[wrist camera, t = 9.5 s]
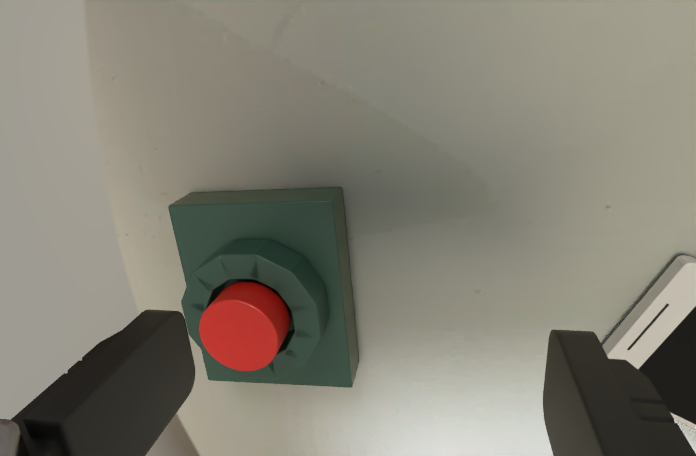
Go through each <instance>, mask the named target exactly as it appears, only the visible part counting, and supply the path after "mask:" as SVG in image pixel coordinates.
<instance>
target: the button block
mask: <svg viewBox="0 0 696 456" xmlns="http://www.w3.org/2000/svg"><path fill="white" fill-rule="evenodd" d="M169 212H170V216H171V220H172V225H173V229H174V233H175V238H176V242H177V246H178V251H179V255H180V259H181V264H182V268H183V272H184V276H185V281H186V285H187V287H186V290H185V293H184V296H183V298H182V301H181V302H182V307H183V312H184V316H185V320H186V324H187V328H188V332H189V335H190V336H191V337H192V339H193V340H194V341H195V342H196V343H197V345H198V346H199V347H200V348H201V350H202V354H203V358H204V363H205V367H206V371H207V376H208V379H209V380H214V381H234V382H254V383H273V384H293V385H313V386H332V387H352V386H353V382H354V379H355V375H356V371H357V367H358V364H359V355H358V345H357V335H356V324H355V314H354V304H353V294H352V283H351V273H350V263H349V253H348V242H347V232H346V222H345V212H344V201H343V191H342V188H341V187H332V188H305V189H279V190H252V191H225V192H199V193H190V194H188V195H186V196H184V197H183V198H181V199H179V200H178V201H176V202H174V203H173V204H171V205H169ZM245 281H248V282H255V283H259V284H262V285H264V286H266V287H268V288H270V289H271V290H273V291H274V292H275V293H276V294H277V295H278V296H279V297H280V298H281V299H282V300H283V302H284V303H285V305H286V307H287V310H288V313H289V317H290V326H289V331H288V333H287V335H286V337H285V339H284V341H283V343H282V345H281V346H280V348H279V350H278V352H277V354H276V356H275V357H274V359H273V360H272V361H271V362H270V363H269V364H268V365H266V366H265V367H263V368H261V369H258V370H254V371H239V370H234V369H231V368H229V367H227V366H225V365H223V364H221V363H220V362H218V361H217V360H216V359H214V358H213V357H212V356H211V355H210V354H209V352H208V351H207V350H206V348H205V347H204V345H203V343H202V340H201V337H200V332H199V324H200V319H201V316H202V314H203V313H204V311H205V310H206V309H207V307H208V306H209V305H210V304H211V303H212V302H213V301H214V300H215V299H216V297H217V296H218V295H219V294H220V293H221V292H222V291H223V290H224V289H225V288H226V287H228V286H229V285H231V284H234V283H237V282H245Z"/></svg>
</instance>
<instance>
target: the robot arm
mask: <svg viewBox="0 0 696 456" xmlns="http://www.w3.org/2000/svg"><path fill="white" fill-rule="evenodd" d="M82 358H83V359H82V361H78V362H77V363H76V364H75V365H73V366H72V367H71V368H70V369H69V370H68V373H67V374H63V375H62V376H61V377H59V378H58V379H57V380H56V381H55V382H54V383H53V384H51V385H50V386H49V387H48V388H47V389H46V390H44V391H43V392H42V393H41V394H40V395H39V396H38V397H36V398H35V399H34V400H33V401H32V402H31V403H30V404H28V405H27V406H26V407H25V408H24V409H23V410H21V411H20V412H19V413H18V414H17V415H16V416H15V417H13V418H12V419H11V420H6V419H0V456H145V455H146V454H147V452H148V451H149V450H150V448H151V447H152V445H153V444H154V443H155V441H156V440H157V439H158V437H159V436H160V434H161V433H162V432H163V430H164V429H165V427H166V426H167V425H168V423H169V422H170V421H171V419H172V418H173V416H174V415H175V414H176V412H177V411H178V410H179V408H180V407H181V405H182V404H183V403H184V401H185V400H186V399H187V397H188V396H189V394H190V392H191V390H192V387H193V384H194V380H195V365H194V360H193V356H192V351H191V346H190V341H189V337H188V332H187V327H186V322H185V319H184V316H183V315H182V313H180V312H179V311H165V310H146V311H144V312H142V313H141V314H140V315H139V316H138V317H136V318H135V319H134V320H133V321H132V322H131V323H130V324H129V325H127V327H125V328H124V329H123V330H122V331H120V332H118V333H116V334H114V335H113V336H111V337H109V338H107V339H105V340H103V341H102V342H100V343H99V344H97V345H96V346H95V347H94V348H93V349H92V350H91V351H89V352H88V353H87V354H86V355H85V356H84V357H82ZM543 410H544V419H545V425H546V429H547V433H548V436H549V440H550V444H551V448H552V451H553V455H554V456H696V454H695V452H694V450H693V449H692V447H691V446H690V444H689V442H688V441H687V439H686V437H685V436H684V434H683V433H682V431H681V429H680V428H679V426H678V424H677V423H674V418H673V416H672V415H671V413H670V412H669V410H668V408H667V407H666V405H665V404H663V403H662V399H661V397H660V395H659V394H658V392H657V391H656V389H655V387H654V386H653V384H652V382H651V381H650V379H649V378H648V377H647V376H645V375H644V374H643V373H642V372H640V371H639V370H638V369H637V368H635V367H634V366H633V365H632V364H630V363H629V362H628V361H627V360H622V359H609V358H608V357H607V355H606V353H605V351H604V349H603V347H602V345H601V343H600V341H599V340H598V338H597V336H596V334H595V333H594V332H590V331H569V330H552V331H551V333H550V336H549V343H548V353H547V362H546V372H545V382H544V391H543Z"/></svg>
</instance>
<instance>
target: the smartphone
mask: <svg viewBox="0 0 696 456" xmlns="http://www.w3.org/2000/svg"><path fill="white" fill-rule="evenodd" d="M602 347H603V349H604V351H605V353H606V355H607V357H608V358H609V359H622V360H627V361H628V362H629V363H630V364H632V365H633V366H634V367H635V368H637V369H638V370H639V371H640V372H642V373H643V374H644V375H645V376H647V377H648V378H649V379H650V381H651V382H652V384H653V386H654V387H655V389H656V391H657V392H658V394H659V395H660V397H661V399H662V403H663V404H665V405H666V407H667V408H668V410H669V412H670V413H671V415H672V416H673V418H674V419H675V420H677V421H679V422H681V423H683V424H685V425H687V426H689V427H691V428H693V429H695V430H696V258H694V257H691V256H686V255H681V256H678V257H677V258H676V259H675V260H674V261H673V262H672V263H671V265H670V266H669V267H668V268H667V269H666V271H665V272H664V273H663V274H662V275H661V277H660V278H659V279H658V280H657V281H656V282H655V284H654V285H653V286H652V287H651V288H650V290H649V291H648V292H647V293H646V294H645V296H644V297H643V298H642V299H641V300H640V301H639V303H638V304H637V305H636V306H635V307H634V309H633V310H632V311H631V312H630V313H629V315H628V316H627V317H626V318H625V319H624V320H623V322H622V323H621V324H620V325H619V326H618V328H617V329H616V330H615V331H614V332H613V334H612V335H611V336H610V337H609V338H608V339H607V341H606V342H605V343H604V344H603V345H602Z"/></svg>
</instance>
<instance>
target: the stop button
mask: <svg viewBox="0 0 696 456" xmlns="http://www.w3.org/2000/svg"><path fill="white" fill-rule="evenodd" d="M289 326H290V317H289V313H288V310H287V307H286V305H285V303H284V302H283V300H282V299H281V298H280V297H279V296H278V295H277V294H276V293H275V292H274V291H273V290H271V289H270V288H268V287H266V286H264V285H262V284H259V283H255V282H248V281H245V282H237V283H234V284H231V285H229V286H228V287H226V288H225V289H224V290H223V291H222V292H221V293H220V294H219V295H218V296H217V297H216V299H215V300H214V301H213V302H212V303H211V304H210V305H209V306H208V307H207V309H206V310H205V311H204V313H203V314H202V316H201V319H200V324H199V332H200V337H201V340H202V343H203V345H204V347H205V348H206V350H207V351H208V352H209V354H210V355H211V356H212V357H213V358H214V359H216V360H217V361H218V362H220V363H221V364H223V365H225V366H227V367H229V368H231V369H234V370H239V371H254V370H258V369H261V368H263V367H265V366H266V365H268V364H269V363H270V362H271V361H272V360H273V359H274V357H275V356H276V354H277V352H278V350H279V348H280V346H281V345H282V343H283V341H284V339H285V337H286V335H287V333H288V331H289Z"/></svg>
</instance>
